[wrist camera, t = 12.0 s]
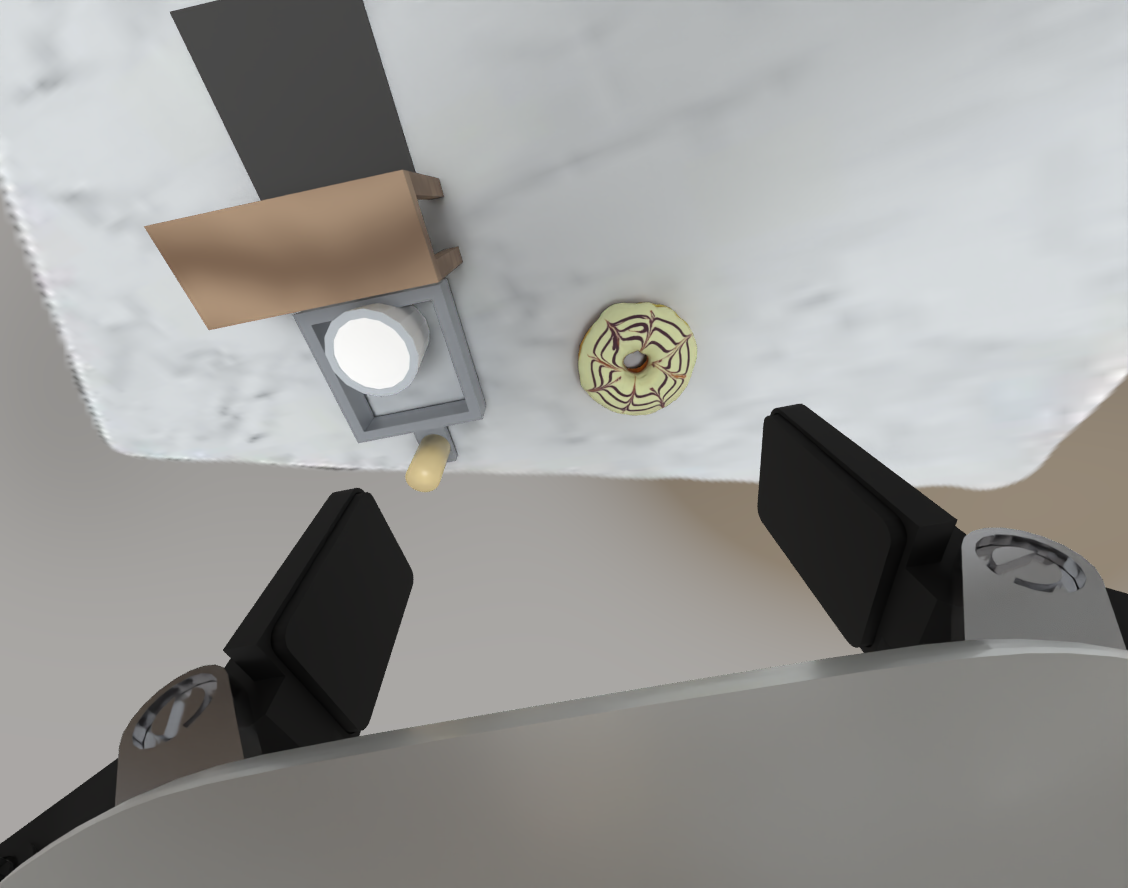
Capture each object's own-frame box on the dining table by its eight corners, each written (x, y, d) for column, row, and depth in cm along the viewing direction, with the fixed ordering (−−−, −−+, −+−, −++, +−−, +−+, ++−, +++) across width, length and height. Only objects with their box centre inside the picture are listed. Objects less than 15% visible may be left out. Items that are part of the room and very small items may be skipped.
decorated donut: (591, 286, 37) (596, 293, 33) (702, 310, 38) (718, 320, 35) (566, 393, 42) (569, 409, 38) (666, 410, 43) (676, 427, 40)
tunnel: (250, 219, 32) (143, 226, 24) (438, 178, 32) (402, 169, 23) (289, 298, 35) (208, 330, 27) (462, 261, 35) (438, 282, 26)
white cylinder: (351, 350, 38) (316, 378, 32) (366, 277, 35) (331, 292, 29) (425, 377, 40) (406, 409, 34) (446, 310, 37) (428, 331, 31)
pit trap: (172, 13, 26) (169, 11, 26) (352, -31, 26) (351, -32, 26) (266, 208, 32) (264, 208, 32) (416, 175, 32) (415, 175, 31)
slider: (279, 243, 33) (226, 251, 27) (426, 211, 32) (403, 213, 27) (388, 468, 44) (367, 507, 38) (499, 447, 43) (494, 483, 38)
